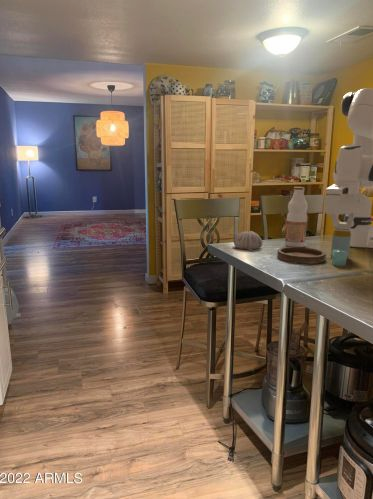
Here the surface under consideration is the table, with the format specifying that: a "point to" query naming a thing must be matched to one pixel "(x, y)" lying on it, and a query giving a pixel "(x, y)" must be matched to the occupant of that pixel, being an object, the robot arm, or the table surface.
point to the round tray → (301, 255)
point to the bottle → (341, 238)
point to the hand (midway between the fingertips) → (342, 225)
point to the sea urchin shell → (248, 240)
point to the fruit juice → (296, 219)
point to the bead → (339, 257)
